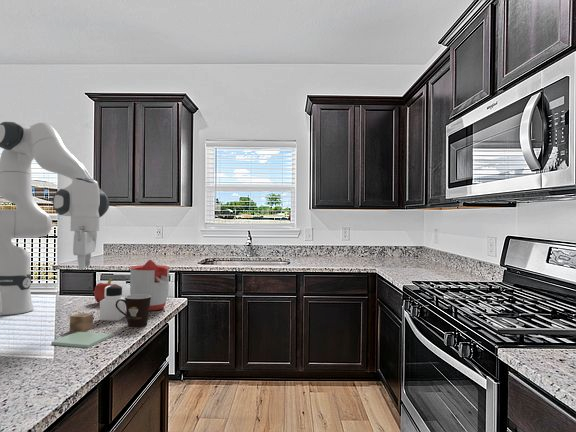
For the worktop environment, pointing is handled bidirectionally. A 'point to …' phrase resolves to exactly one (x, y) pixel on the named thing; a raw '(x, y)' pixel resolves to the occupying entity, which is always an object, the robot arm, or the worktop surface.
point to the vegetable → (101, 290)
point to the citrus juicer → (151, 283)
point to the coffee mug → (136, 309)
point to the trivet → (81, 339)
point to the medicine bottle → (112, 304)
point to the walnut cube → (81, 322)
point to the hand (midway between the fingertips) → (84, 267)
